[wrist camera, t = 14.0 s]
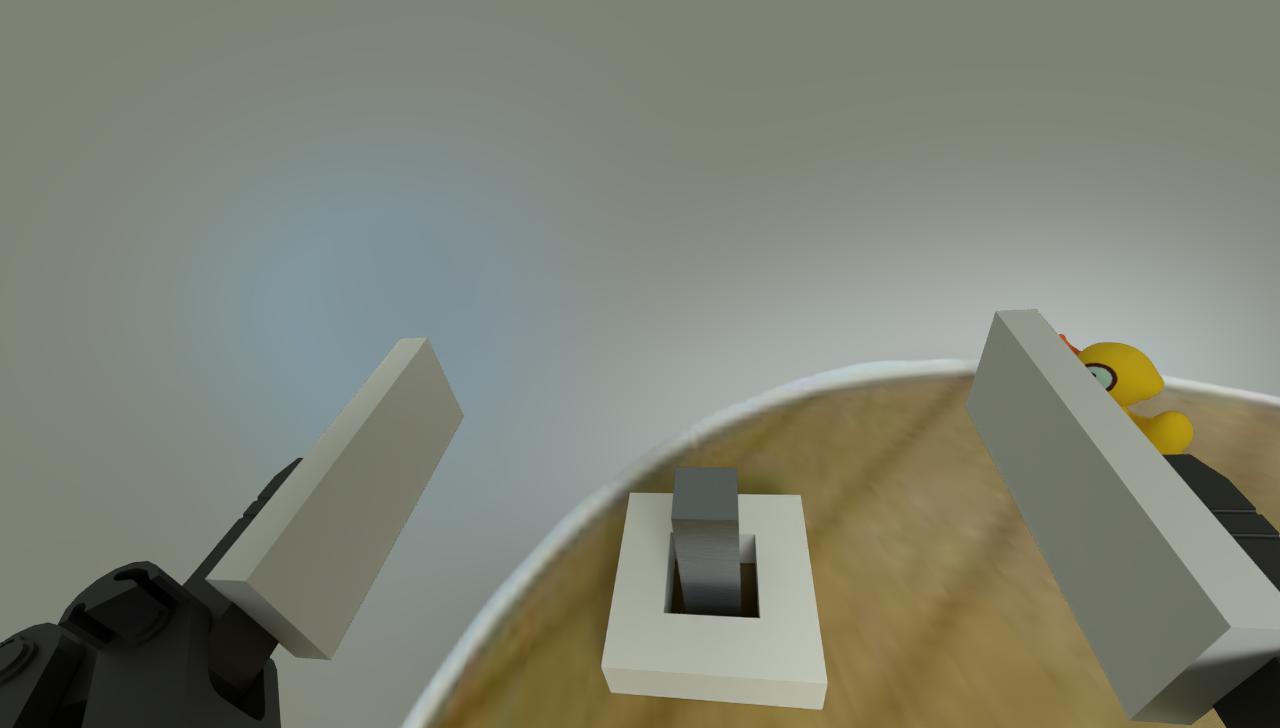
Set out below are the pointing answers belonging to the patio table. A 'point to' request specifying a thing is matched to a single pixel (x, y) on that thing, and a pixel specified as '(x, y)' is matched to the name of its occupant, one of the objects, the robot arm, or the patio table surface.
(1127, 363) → the duckling
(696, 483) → the tall dark grey pillar
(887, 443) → the patio table surface
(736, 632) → the well block
